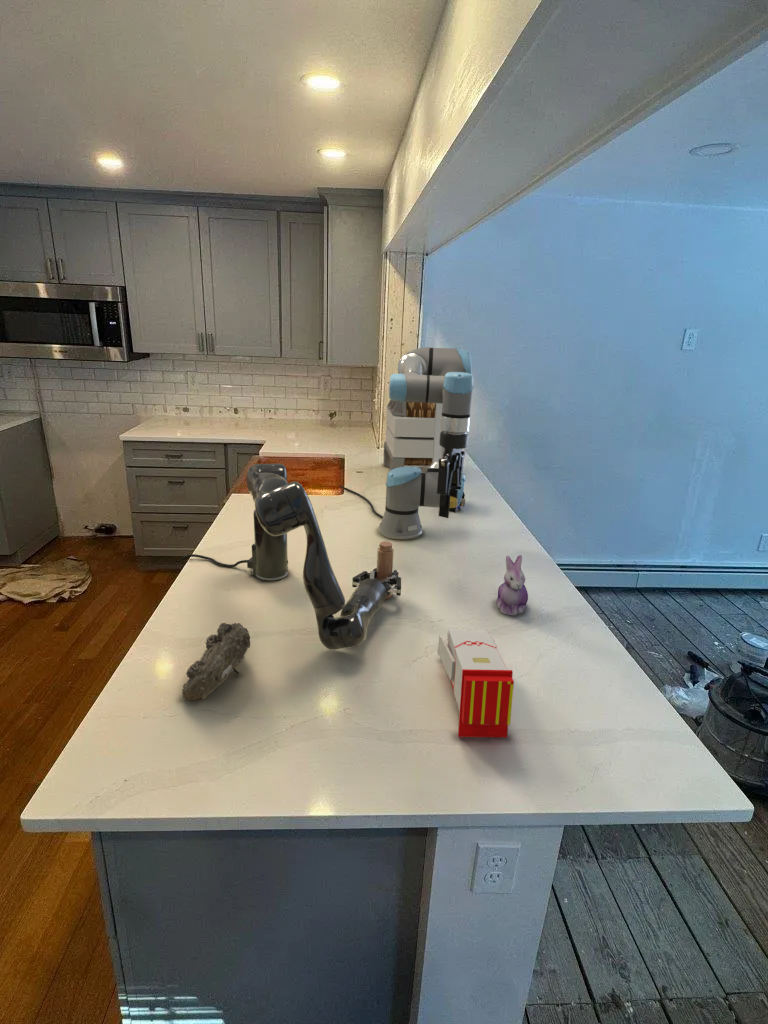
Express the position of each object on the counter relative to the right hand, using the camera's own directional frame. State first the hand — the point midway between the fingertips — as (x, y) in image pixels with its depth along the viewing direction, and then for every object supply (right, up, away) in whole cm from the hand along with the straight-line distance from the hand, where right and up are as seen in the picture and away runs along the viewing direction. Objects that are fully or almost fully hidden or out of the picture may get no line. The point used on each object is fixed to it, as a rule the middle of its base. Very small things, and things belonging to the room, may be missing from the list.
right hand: (447, 513), depth 159 cm
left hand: (-17, -16, -2) cm, 23 cm away
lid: (0, +4, -1) cm, 4 cm away
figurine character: (+11, +3, +71) cm, 72 cm away
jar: (-18, -23, -2) cm, 29 cm away
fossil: (-52, -34, -38) cm, 73 cm away
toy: (0, -37, -40) cm, 55 cm away
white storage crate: (-1, +19, +116) cm, 118 cm away
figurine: (+17, -25, -6) cm, 31 cm away
